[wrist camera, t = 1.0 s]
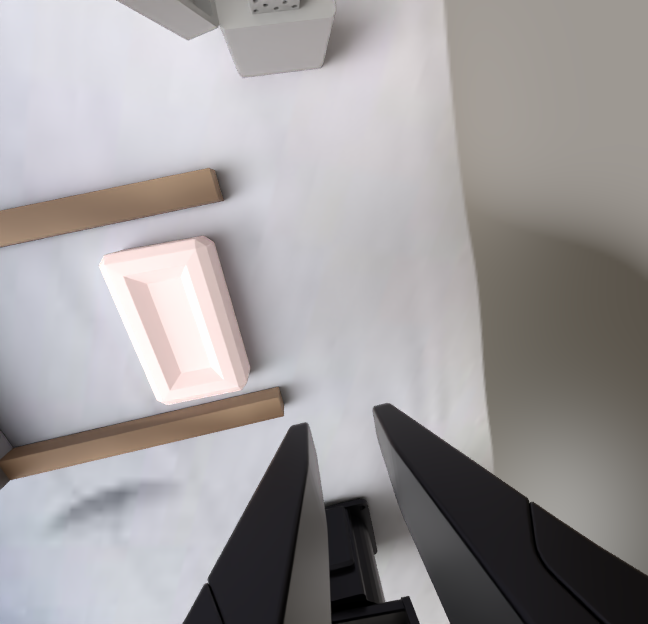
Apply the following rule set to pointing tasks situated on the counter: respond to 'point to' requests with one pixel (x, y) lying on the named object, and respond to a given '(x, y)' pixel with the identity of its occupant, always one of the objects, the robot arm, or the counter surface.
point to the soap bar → (179, 318)
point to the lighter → (252, 29)
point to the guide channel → (150, 431)
